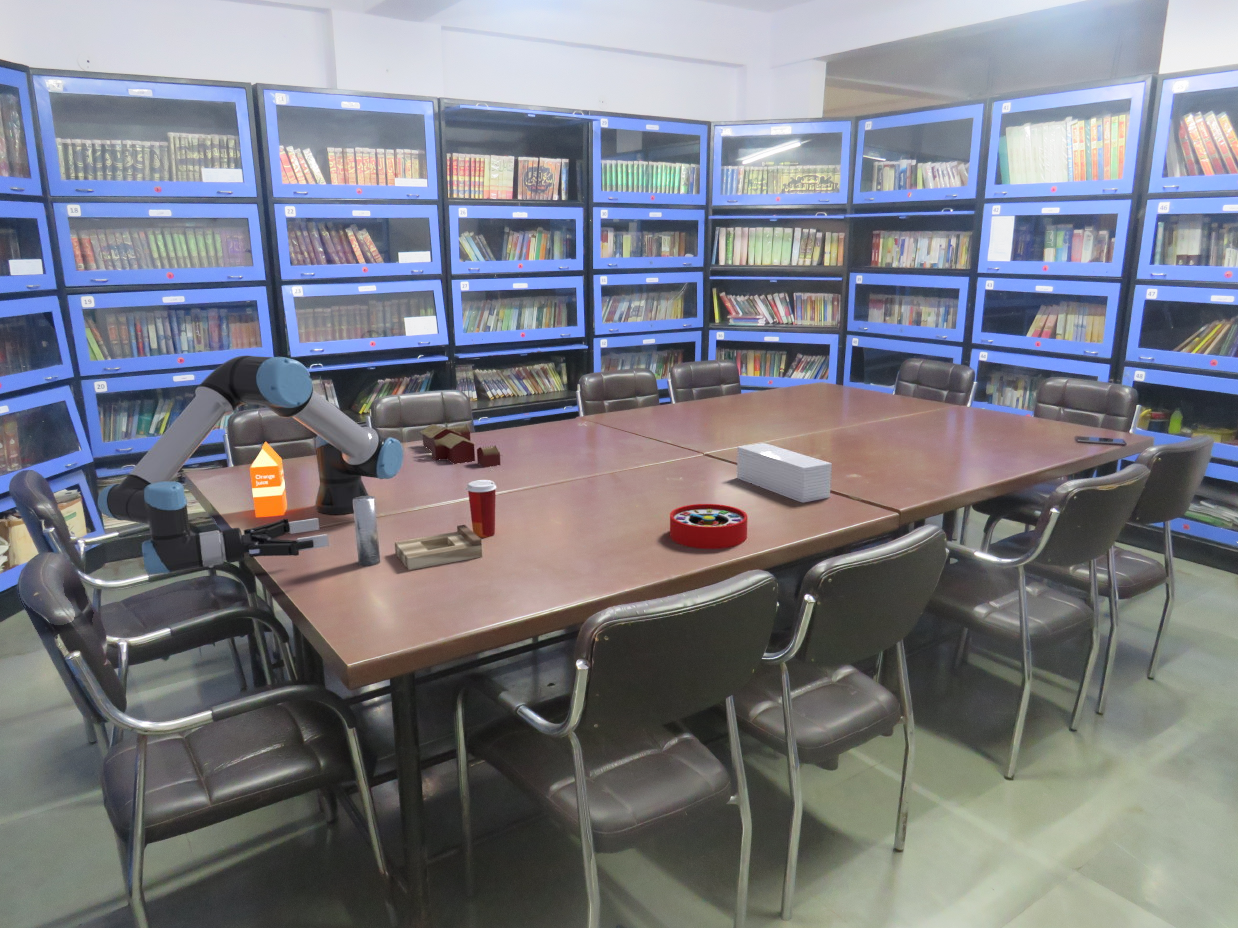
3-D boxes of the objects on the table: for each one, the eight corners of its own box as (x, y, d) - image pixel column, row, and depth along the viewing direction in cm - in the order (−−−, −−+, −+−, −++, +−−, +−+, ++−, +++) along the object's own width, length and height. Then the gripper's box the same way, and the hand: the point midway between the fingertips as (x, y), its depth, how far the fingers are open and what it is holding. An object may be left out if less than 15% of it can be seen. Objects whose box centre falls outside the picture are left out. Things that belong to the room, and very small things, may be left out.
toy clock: (720, 532, 202) (654, 517, 214) (719, 555, 203) (654, 538, 216) (762, 512, 217) (698, 499, 229) (761, 534, 218) (698, 519, 231)
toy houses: (416, 447, 321) (414, 421, 318) (467, 441, 330) (466, 416, 328) (453, 473, 282) (451, 444, 280) (509, 465, 292) (508, 437, 289)
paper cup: (500, 529, 224) (497, 478, 220) (497, 538, 216) (494, 486, 213) (471, 529, 224) (468, 479, 220) (467, 539, 216) (463, 487, 213)
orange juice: (255, 517, 236) (246, 449, 231) (259, 508, 245) (251, 442, 240) (284, 514, 238) (276, 447, 233) (287, 506, 247) (280, 440, 242)
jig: (395, 553, 207) (394, 536, 205) (465, 541, 215) (464, 524, 214) (408, 570, 195) (407, 552, 194) (482, 556, 204) (481, 539, 203)
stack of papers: (736, 478, 271) (737, 446, 269) (762, 474, 276) (763, 442, 274) (802, 503, 244) (804, 467, 242) (829, 498, 249) (831, 463, 247)
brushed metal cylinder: (356, 560, 202) (350, 497, 198) (377, 557, 204) (372, 494, 200) (361, 567, 198) (354, 503, 194) (382, 563, 200) (376, 499, 196)
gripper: (221, 546, 196) (316, 531, 206) (229, 581, 175) (334, 563, 184) (217, 515, 194) (313, 502, 204) (224, 547, 173) (331, 531, 182)
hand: (323, 531), depth 194 cm, fingers open, 13 cm apart
